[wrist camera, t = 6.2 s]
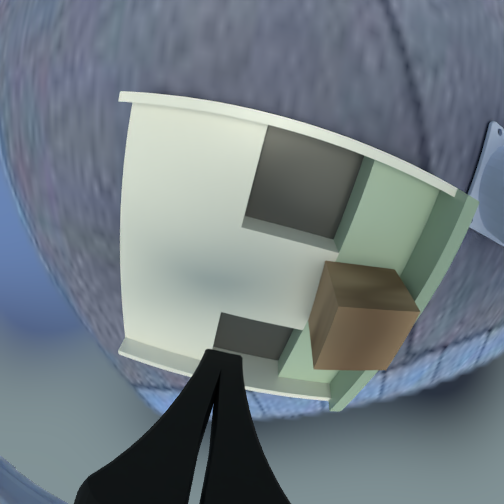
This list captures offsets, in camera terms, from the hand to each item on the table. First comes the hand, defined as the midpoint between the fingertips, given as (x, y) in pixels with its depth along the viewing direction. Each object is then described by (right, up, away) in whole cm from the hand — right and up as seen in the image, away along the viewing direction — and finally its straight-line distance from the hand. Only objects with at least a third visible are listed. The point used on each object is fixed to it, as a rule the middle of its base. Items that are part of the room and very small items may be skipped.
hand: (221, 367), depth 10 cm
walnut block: (+7, +2, +6) cm, 10 cm away
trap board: (+2, +4, +8) cm, 9 cm away
